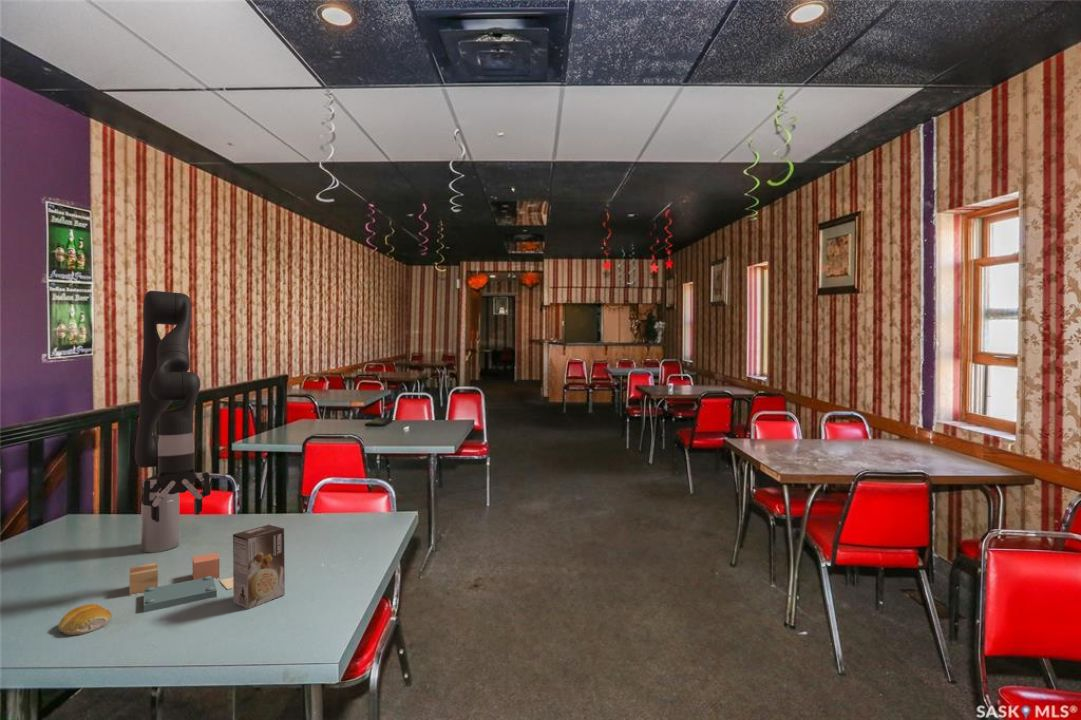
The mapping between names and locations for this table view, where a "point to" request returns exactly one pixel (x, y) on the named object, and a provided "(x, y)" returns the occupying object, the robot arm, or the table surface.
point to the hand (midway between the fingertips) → (177, 517)
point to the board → (179, 593)
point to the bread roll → (84, 619)
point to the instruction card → (227, 583)
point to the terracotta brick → (206, 566)
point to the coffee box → (258, 566)
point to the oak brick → (143, 578)
